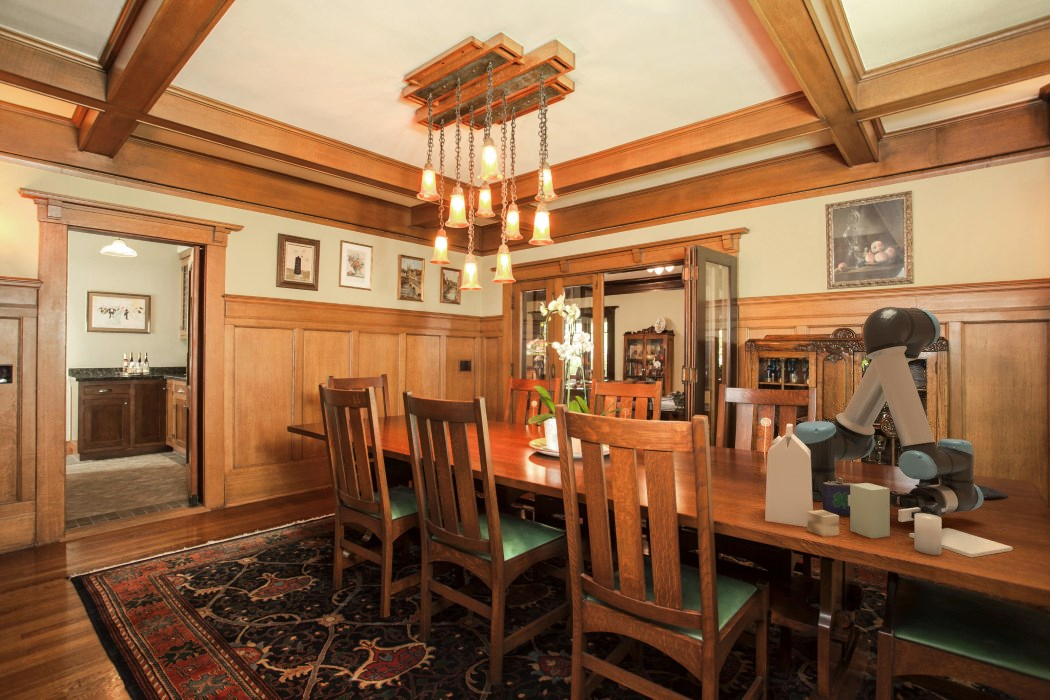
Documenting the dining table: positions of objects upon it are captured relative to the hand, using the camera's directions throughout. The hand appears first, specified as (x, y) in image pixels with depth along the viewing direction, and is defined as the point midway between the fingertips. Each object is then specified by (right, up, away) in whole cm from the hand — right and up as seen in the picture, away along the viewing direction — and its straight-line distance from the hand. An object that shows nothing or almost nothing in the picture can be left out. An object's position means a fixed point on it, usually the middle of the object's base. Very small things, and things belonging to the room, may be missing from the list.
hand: (873, 507), depth 134 cm
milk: (-15, -7, +13) cm, 21 cm away
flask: (+1, -7, +16) cm, 17 cm away
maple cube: (-12, -7, +1) cm, 14 cm away
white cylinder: (+5, -7, -11) cm, 14 cm away
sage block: (0, -7, +1) cm, 7 cm away
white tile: (+17, -7, -6) cm, 19 cm away
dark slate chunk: (+57, -8, +42) cm, 71 cm away
